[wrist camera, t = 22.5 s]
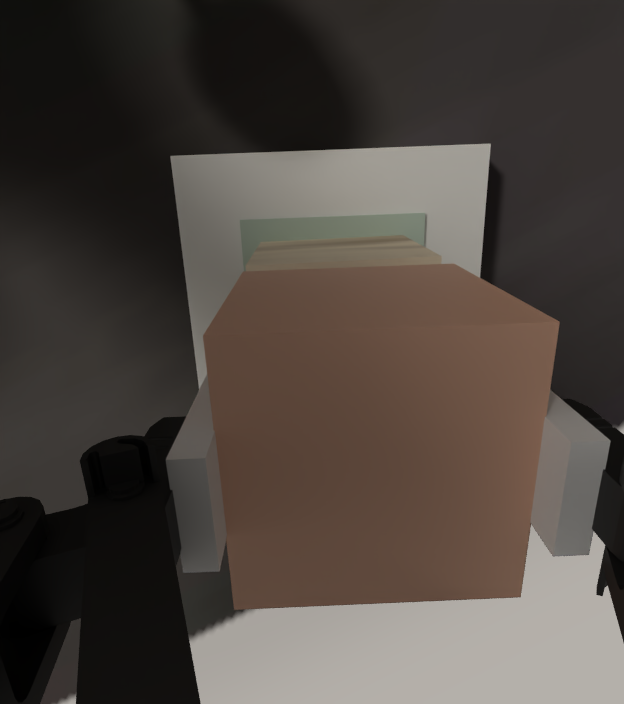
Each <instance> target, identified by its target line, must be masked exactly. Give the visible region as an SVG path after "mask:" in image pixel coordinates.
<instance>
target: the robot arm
mask: <svg viewBox="0 0 624 704" xmlns="http://www.w3.org/2000/svg"><path fill="white" fill-rule="evenodd" d="M80 464H81V468H82V473H83V477H84V481H85V486H86V490H87V495H88V504H85V505H83V506H79V507H76V508H73V509H69V510H64V511H60V512H56V513H52V514H47V515H45V511H44V507H43V505H42V503H41V502H40V500H38V499H35V498H32V497H15V498H10V499H3V500H0V704H40V702H41V700H42V697H43V694H44V692H45V689H46V686H47V684H48V681H49V679H50V676H51V673H52V671H53V668H54V666H55V663H56V660H57V658H58V655H59V652H60V650H61V647H62V645H63V642H64V639H65V637H66V634H67V632H68V629H69V626H70V623H71V621H73V620H76V619H79V618H81V629H80V645H79V662H78V679H77V695H76V704H200V698H199V693H198V687H197V682H196V676H195V671H194V666H193V660H192V654H191V648H190V643H189V637H188V632H187V626H186V621H185V615H184V610H183V604H182V599H181V593H180V588H179V582H178V577H177V571H176V564H177V561H178V558H179V555H181V561H182V567H183V573H193V572H216V571H220V567H221V562H222V557H223V552H224V548H225V543H226V538H227V531H226V523H225V514H224V505H223V497H222V488H221V480H220V471H219V463H218V454H217V445H216V437H215V431H214V429H213V420H212V411H211V403H210V394H209V385H208V376H207V375H206V377H205V379H204V381H203V383H202V385H201V387H200V390H199V392H198V394H197V396H196V398H195V400H194V402H193V404H192V406H191V408H190V410H189V412H188V414H187V416H186V417H164V418H162V419H161V420H160V421H158V422H157V423H155V424H154V425H153V426H151V427H150V428H149V430H148V431H147V433H146V435H145V436H144V437H143V436H134V435H128V436H120V437H115V438H111V439H108V440H104V441H102V442H100V443H98V444H96V445H94V446H92V447H91V448H89V449H88V450H87V451H86V452H84V453H83V455H82V457H81V459H80ZM530 523H531V524H532V525H533V527H534V529H535V530H536V532H537V533H538V535H539V536H540V538H541V539H542V541H543V542H544V543H545V545H546V547H547V548H548V550H549V551H550V552H551V554H552V556H573V555H589V551H590V546H591V541H592V536H593V531H594V532H595V533H596V534H597V535H598V537H599V538H600V539H601V540H602V541H603V542H604V544H605V550H604V554H603V559H602V564H601V569H600V574H599V579H598V584H597V595H600V596H603V592H604V588H605V587H606V586H607V585H608V587H609V591H610V595H611V598H612V601H613V605H614V609H615V613H616V616H617V620H618V623H619V627H620V631H621V634H622V638H623V642H624V434H622V433H621V432H620V431H619V430H617V429H616V428H612V425H611V424H610V423H608V422H607V421H606V420H605V419H602V417H601V416H600V415H598V414H597V413H596V412H595V411H593V410H592V409H591V408H589V407H587V406H585V405H583V404H581V403H578V402H576V401H574V400H572V399H561V398H559V397H558V396H557V395H556V394H555V393H554V392H552V391H551V390H550V393H549V400H548V408H547V415H546V417H545V419H544V426H543V433H542V441H541V448H540V455H539V462H538V469H537V477H536V484H535V491H534V498H533V505H532V513H531V520H530Z"/></svg>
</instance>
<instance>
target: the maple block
mask: <svg viewBox="0 0 624 704" xmlns="http://www.w3.org/2000/svg"><path fill="white" fill-rule="evenodd" d="M441 261H442V256H440V255H439V254H437V253H435V252H433V251H431V250H429V249H428V248H426V247H424V246H422V245H420V244H418V243H417V242H415V241H413V240H411V239H409V238H407V237H406V236H404V235H394V236H373V237H353V238H332V239H311V240H291V241H270V242H260V244H259V245H258V247H257V249H256V250H255V252H254V253H253V255H252V256H251V258H250V259H249V261H248V262H247V264H246V266H245V267H246V271H269V270H295V269H322V268H348V267H375V266H401V265H428V264H441Z"/></svg>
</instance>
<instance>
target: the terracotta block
mask: <svg viewBox="0 0 624 704" xmlns="http://www.w3.org/2000/svg"><path fill="white" fill-rule="evenodd" d="M559 323H560V322H559V321H557V320H555V319H554V318H552V317H550V316H548V315H546V314H544V313H543V312H541V311H539V310H537V309H535V308H534V307H532V306H530V305H528V304H526V303H525V302H523V301H521V300H519V299H517V298H516V297H514V296H512V295H510V294H508V293H506V292H505V291H503V290H501V289H499V288H497V287H496V286H494V285H492V284H490V283H488V282H487V281H485V280H483V279H481V278H479V277H478V276H476V275H474V274H472V273H470V272H469V271H467V270H465V269H463V268H461V267H459V266H458V265H456V264H428V265H401V266H375V267H348V268H322V269H295V270H269V271H243V272H242V274H241V276H240V277H239V279H238V280H237V282H236V284H235V285H234V287H233V288H232V290H231V292H230V293H229V295H228V296H227V298H226V300H225V301H224V303H223V304H222V306H221V308H220V309H219V311H218V312H217V314H216V316H215V317H214V319H213V320H212V322H211V324H210V325H209V327H208V328H207V330H206V332H205V333H204V335H203V342H204V350H205V359H206V368H207V376H208V385H209V394H210V403H211V411H212V420H213V429H214V431H215V437H216V445H217V454H218V463H219V471H220V480H221V488H222V497H223V505H224V514H225V523H226V531H227V538H226V542H227V551H228V559H229V568H230V577H231V586H232V594H233V603H234V610H239V609H262V608H284V607H307V606H329V605H350V604H351V605H353V604H374V603H375V604H376V603H397V602H398V603H399V602H420V601H442V600H443V601H444V600H467V599H490V598H513V597H521V590H522V583H523V576H524V569H525V562H526V555H527V548H528V541H529V534H530V527H531V523H530V520H531V513H532V505H533V498H534V491H535V484H536V477H537V469H538V462H539V455H540V448H541V441H542V433H543V426H544V419H545V417H546V415H547V408H548V400H549V393H550V386H551V379H552V372H553V365H554V358H555V351H556V344H557V337H558V330H559Z"/></svg>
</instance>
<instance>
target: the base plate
mask: <svg viewBox="0 0 624 704" xmlns="http://www.w3.org/2000/svg"><path fill="white" fill-rule="evenodd" d="M490 146H491V144H471V145H445V146H418V147H392V148H365V149H339V150H313V151H286V152H260V153H234V154H207V155H181V156H170V157H171V166H172V174H173V182H174V190H175V198H176V206H177V214H178V222H179V230H180V238H181V246H182V254H183V262H184V270H185V278H186V286H187V294H188V303H189V311H190V319H191V327H192V335H193V343H194V351H195V359H196V367H197V375H198V383H199V390H200V387H201V385H202V383H203V381H204V379H205V377H206V375H207V368H206V359H205V350H204V342H203V335H204V333H205V332H206V330H207V328H208V327H209V325H210V324H211V322H212V320H213V319H214V317H215V316H216V314H217V312H218V311H219V309H220V308H221V306H222V304H223V303H224V301H225V300H226V298H227V296H228V295H229V293H230V292H231V290H232V288H233V287H234V285H235V284H236V282H237V280H238V279H239V277H240V276H241V274H242V272H243V271H246V267H245V266H246V264H247V262H248V261H249V259H250V258H251V256H252V255H253V253H254V252H255V250H256V249H257V247H258V245H259V244H260V242H270V241H291V240H311V239H332V238H353V237H373V236H394V235H404V236H406V237H407V238H409V239H411V240H413V241H415V242H417V243H418V244H420V245H422V246H424V247H426V248H428V249H429V250H431V251H433V252H435V253H437V254H439V255H440V256H442V261H441V264H456V265H458V266H459V267H461V268H463V269H465V270H467V271H469V272H470V273H472V274H474V275H476V276H478V277H479V278H480V271H481V259H482V246H483V234H484V221H485V209H486V196H487V184H488V171H489V159H490Z"/></svg>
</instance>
